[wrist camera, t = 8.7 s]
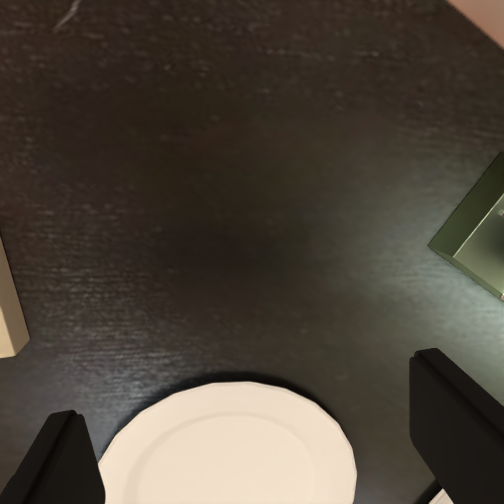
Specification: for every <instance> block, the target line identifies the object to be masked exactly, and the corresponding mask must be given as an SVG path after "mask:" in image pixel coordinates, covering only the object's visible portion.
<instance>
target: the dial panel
mask: <svg viewBox="0 0 504 504" xmlns="http://www.w3.org/2000/svg"><path fill="white" fill-rule="evenodd" d="M428 246H429V247H430V248H431V249H433V250H434V251H435V252H437V253H438V254H439V255H441V256H442V257H443V258H445V259H446V260H447V261H449V262H450V263H451V264H453V265H454V266H456V267H457V268H458V269H460V270H461V271H462V272H464V273H465V274H466V275H468V276H469V277H470V278H472V279H473V280H474V281H476V282H477V283H478V284H480V285H481V286H483V287H484V288H485V289H487V290H488V291H489V292H491V293H492V294H493V295H495V296H496V297H497V298H499V299H500V300H501V301H503V302H504V152H501V153H500V154H499V156H498V157H497V158H496V159H495V161H494V162H493V163H492V164H491V166H490V167H489V168H488V170H487V171H486V172H485V173H484V175H483V176H482V177H481V178H480V180H479V181H478V182H477V184H476V185H475V186H474V187H473V189H472V190H471V191H470V192H469V194H468V195H467V196H466V198H465V199H464V200H463V201H462V203H461V204H460V205H459V206H458V208H457V209H456V210H455V212H454V213H453V214H452V215H451V217H450V218H449V219H448V220H447V222H446V223H445V224H444V226H443V227H442V228H441V229H440V231H439V232H438V233H437V234H436V236H435V237H434V238H433V240H432V241H431V242H430V243H429V245H428Z"/></svg>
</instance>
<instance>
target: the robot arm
mask: <svg viewBox="0 0 504 504" xmlns="http://www.w3.org/2000/svg"><path fill="white" fill-rule="evenodd" d="M409 382H410V437H411V440H412V443H413V445H414V447H415V448H416V450H417V451H418V453H419V454H420V455H421V457H422V458H423V460H424V461H425V463H426V464H427V466H428V467H429V469H430V470H431V472H432V473H433V474H434V476H435V477H436V479H437V480H438V482H439V483H440V485H441V486H442V488H443V489H444V491H445V492H446V493H447V495H448V496H449V498H450V499H451V501H452V502H453V504H504V407H503V406H502V405H501V404H500V403H499V402H498V401H497V400H495V399H494V398H493V397H492V396H491V395H490V394H489V393H488V392H486V391H485V390H484V389H483V388H482V387H481V386H480V385H479V384H477V383H476V382H475V381H474V380H473V379H472V378H471V377H470V376H468V375H467V374H466V373H465V372H464V371H463V370H462V369H460V368H459V367H458V366H457V365H456V364H455V363H454V362H453V361H451V360H450V359H449V358H448V357H447V356H446V355H445V354H444V353H442V352H441V351H440V350H439V349H437V348H431V349H425V350H419V351H416V352H415V354H414V357H411V358H410V362H409ZM105 500H106V493H105V487H104V484H103V481H102V477H101V474H100V470H99V467H98V463H97V460H96V457H95V453H94V450H93V446H92V443H91V440H90V436H89V433H88V429H87V426H86V423H85V419H84V417H83V415H82V414H78V415H77V413H76V411H75V410H69V411H63V412H57V413H52V414H50V415H49V417H48V418H47V420H46V422H45V423H44V425H43V427H42V429H41V430H40V432H39V434H38V435H37V437H36V439H35V440H34V442H33V444H32V446H31V447H30V449H29V451H28V452H27V454H26V456H25V457H24V459H23V461H22V463H21V464H20V466H19V468H18V469H17V471H16V473H15V475H13V476H12V478H11V479H10V480H9V482H8V483H7V485H6V487H5V488H4V490H3V492H2V494H1V495H0V504H105Z"/></svg>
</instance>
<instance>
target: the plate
mask: <svg viewBox="0 0 504 504" xmlns="http://www.w3.org/2000/svg"><path fill="white" fill-rule="evenodd" d="M98 467H99V470H100V474H101V477H102V481H103V484H104V487H105V493H106V500H105V504H352V503H353V501H354V494H355V486H356V478H357V471H356V466H355V461H354V456H353V451H352V447H351V445H350V443H349V442H348V440H347V438H346V436H345V435H344V433H343V431H342V430H341V428H340V426H339V424H338V423H337V421H336V420H334V419H333V418H332V417H331V416H330V415H329V414H328V413H327V412H326V411H324V410H323V409H322V408H321V407H320V406H319V405H318V404H317V403H316V402H314V401H312V400H310V399H308V398H306V397H304V396H302V395H300V394H298V393H296V392H294V391H291V390H289V389H287V388H285V387H281V386H276V385H270V384H265V383H260V382H255V381H250V380H248V381H223V382H210V383H206V384H203V385H199V386H195V387H192V388H188V389H184V390H181V391H177V392H174V393H172V394H171V395H169V396H167V397H165V398H163V399H161V400H160V401H158V402H156V403H154V404H152V405H150V406H148V407H147V408H145V409H143V410H142V411H140V412H139V413H138V414H137V415H136V416H135V417H134V418H133V419H132V420H131V421H130V422H128V423H127V424H126V425H125V426H124V427H123V428H122V429H121V430H120V431H119V432H118V433H117V434H116V435H115V437H114V438H113V440H112V441H111V443H110V445H109V446H108V448H107V450H106V451H105V453H104V455H103V456H102V458H101V459H100V461H99V463H98Z"/></svg>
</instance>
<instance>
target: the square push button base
mask: <svg viewBox="0 0 504 504" xmlns="http://www.w3.org/2000/svg"><path fill="white" fill-rule="evenodd" d="M29 340H30V337H29V334H28V330H27V327H26V323H25V320H24V316H23V313H22V309H21V306H20V303H19V299H18V296H17V292H16V289H15V285H14V282H13V278H12V275H11V272H10V268H9V265H8V261H7V258H6V254H5V251H4V247H3V244H2V240H1V237H0V358H4V357H11V356H15V355H16V354H17V353H18V352H19V351H20V350H21V349H22V348H23V347H24V346H25V345H26V343H27V342H28V341H29Z"/></svg>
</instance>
